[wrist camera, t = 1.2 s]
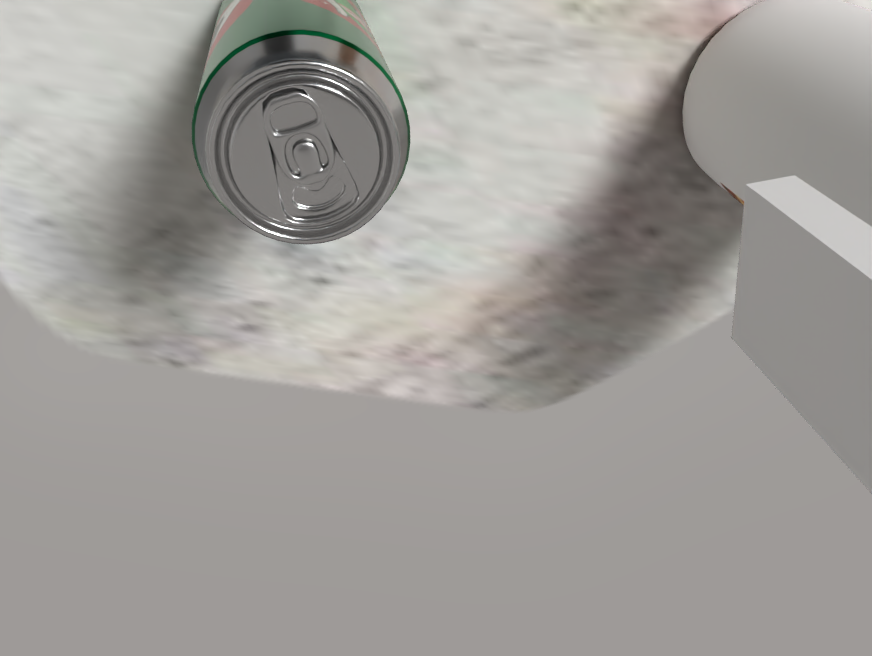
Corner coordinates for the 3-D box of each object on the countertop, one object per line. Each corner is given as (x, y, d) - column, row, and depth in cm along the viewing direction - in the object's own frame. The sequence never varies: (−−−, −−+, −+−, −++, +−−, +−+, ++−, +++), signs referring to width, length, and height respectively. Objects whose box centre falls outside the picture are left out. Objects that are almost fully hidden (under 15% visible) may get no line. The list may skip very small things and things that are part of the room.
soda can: (248, 126, 30) (238, 285, 20) (192, -18, 27) (147, 81, 17) (382, 85, 30) (440, 224, 20) (340, -62, 27) (382, 10, 17)
